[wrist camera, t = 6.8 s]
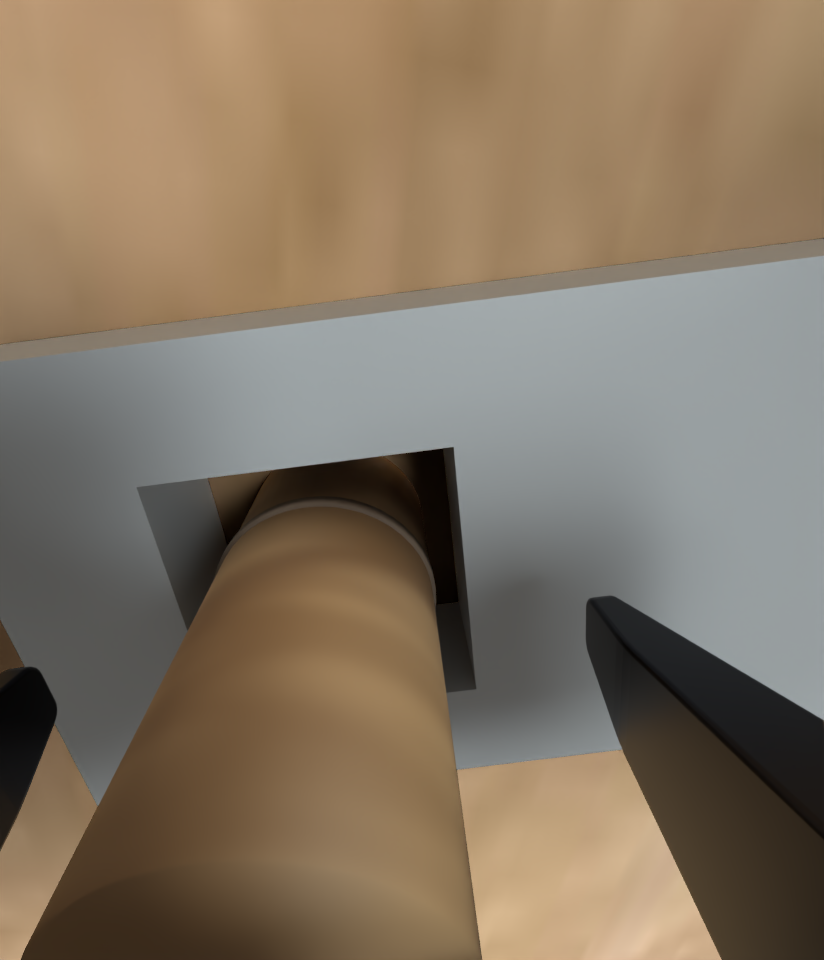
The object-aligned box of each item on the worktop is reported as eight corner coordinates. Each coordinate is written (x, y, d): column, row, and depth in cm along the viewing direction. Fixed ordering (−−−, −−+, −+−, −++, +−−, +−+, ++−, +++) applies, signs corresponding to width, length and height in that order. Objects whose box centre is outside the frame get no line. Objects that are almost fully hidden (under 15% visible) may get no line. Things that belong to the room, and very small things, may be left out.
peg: (415, 431, 12) (474, 823, 4) (433, 584, 14) (503, 1085, 6) (232, 454, 12) (-85, 890, 4) (273, 604, 14) (107, 1133, 6)
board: (887, 230, 11) (1055, 226, 8) (802, 628, 15) (896, 715, 12) (1, 344, 11) (-127, 378, 8) (153, 709, 15) (101, 813, 12)
